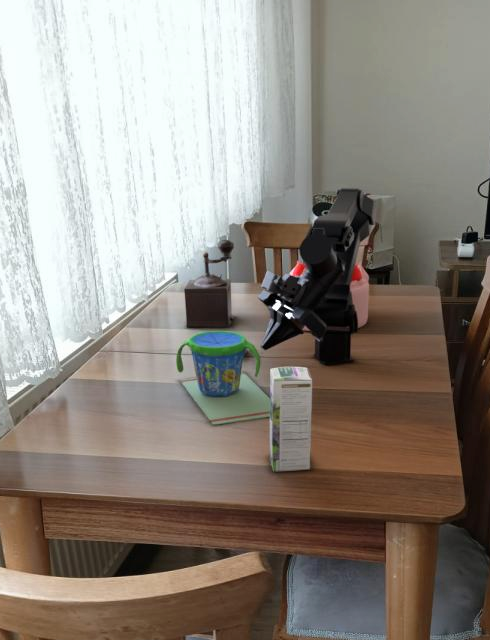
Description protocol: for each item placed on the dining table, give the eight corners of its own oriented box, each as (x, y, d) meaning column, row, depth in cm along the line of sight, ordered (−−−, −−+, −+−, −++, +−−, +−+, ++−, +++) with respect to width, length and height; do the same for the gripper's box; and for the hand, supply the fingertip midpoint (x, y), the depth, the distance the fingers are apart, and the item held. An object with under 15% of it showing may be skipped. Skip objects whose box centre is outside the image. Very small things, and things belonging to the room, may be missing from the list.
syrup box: (268, 456, 121) (267, 367, 114) (306, 454, 121) (307, 365, 115) (272, 472, 116) (271, 380, 109) (312, 470, 116) (313, 378, 110)
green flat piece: (242, 372, 156) (242, 371, 156) (284, 414, 136) (284, 413, 136) (179, 380, 153) (179, 379, 153) (213, 425, 132) (212, 424, 132)
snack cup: (267, 385, 149) (266, 333, 144) (250, 404, 140) (249, 350, 135) (191, 378, 153) (188, 327, 149) (170, 397, 144) (166, 343, 140)
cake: (278, 331, 181) (278, 269, 175) (293, 309, 198) (293, 252, 192) (363, 335, 177) (365, 271, 171) (371, 312, 194) (373, 253, 188)
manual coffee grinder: (231, 327, 185) (229, 250, 177) (185, 328, 185) (180, 250, 177) (237, 310, 199) (234, 238, 190) (194, 311, 199) (189, 238, 191)
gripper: (266, 246, 148) (215, 310, 149) (312, 264, 133) (254, 336, 134) (303, 283, 155) (253, 344, 156) (350, 304, 139) (295, 372, 140)
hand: (262, 348), depth 146 cm, fingers closed
